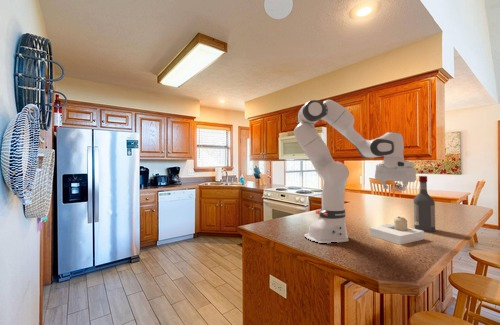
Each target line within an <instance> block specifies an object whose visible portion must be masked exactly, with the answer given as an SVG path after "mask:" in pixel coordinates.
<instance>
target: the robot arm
mask: <svg viewBox="0 0 500 325" xmlns="http://www.w3.org/2000/svg"><path fill="white" fill-rule="evenodd" d="M319 120H321V121H324V122H326V123H327V124H328V125H329V126H331V127H332V128H333V129H335V130H336V131H337V132H339V133H340V134H341V135H342V136H343V138H345V139H346V140H347V141H348V142H350V144H352V145H353V146H354V147H355V149H356V150H357V152H358V154H359V155H360V157H362V158H364V159H372V158H381V157H383V163H381V162H379V163H378V164H376V165H375V173H374V179H375V180H376V181H380V182H381V184H382V187H383V189H384V190H388V189H389V186H388V185H387V182H388V181H389V182H390V181H391V182H402V184H403V185H402V186H400V191H403V192H405V191H406V190H407V188H406V187H407V186H408V184H409V183H415V182H416V181H417V172H416V169H415V163H414V162H413V161H411V160H410V161H409V160H405V157H404V151H405V150H404V149H405V147H404V146H405V144H404V143H405V142H404V137H403V135H402V134H401V133H400V132H395V131H388V132H385V133H384V134H382V135H381V136H379V137H376V138H374V139H373V138H372V139H366V138H364V137H363V136H362V135H361V134H360V133H359V132H358V131H357V130H355V127H354V125H355V117H354V115H353V114H352V113H351V112H350V111H349V110H348V109H347V108H346V107H344V106H343V105H341V104H340V103H338V102H336V101H334V100H332V99H326V100H324V101H320V100H317V99H316V100H315V99H313V100H308V101H307V102H306V103H305V104H304V105H303V106H301V108H300V109H299V111H298V112H297V115H296V121H297V125H296V126H295V128H294V129H293V135H294V137H295V139H296V141H297V143H298V144H299V146H300V147H301V149H302V150H303V152H304V153H305V155H306V157H308V159H309V160H310V162H311V164H312V166H313V168H314V170H315V171H316V173H317V175H318V176H319V178H320V179H321V180H322V181H323V187H322V191H321V209H320V210H318V209H316V210H315V214H317V215H319V216H318V217H317V218H316V219H315V220H314V221H313V222H311V224H309V227H308V233H304V235H303V237H304V236H305V237H306V238H307V239H306V238H305V237H304V238H305V239H306V240H308V239H309V240H308V241H310V240H311V241H310V242H312V241H315V242H318V243H317V244H319V243H327V244H332V243H331V242H337V243H346V242H349V235H348V231H347V223H346V220H345V218H346V209H345V192H346V191H345V190H346V186H347V180H348V178H349V175H350V171H349V169H348V166H347V165H346V164H344V163H343V162H341V161H335V160H334V158H333V157H332V155H331V153H330V148H329V147H328V146H327V144H326V143H325V141H324V140H323V139H322V137H321V136H320V135H319V133H318V132H317V131H316V127H315V124H316V123H317V122H319ZM315 242H314V243H315Z"/></svg>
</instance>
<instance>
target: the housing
mask: <svg viewBox="0 0 500 325" xmlns="http://www.w3.org/2000/svg"><path fill="white" fill-rule="evenodd" d="M407 230H408V231H403V232H402V231H398V230H395V225H394V223H389V224H384V225H378V226H377V225H376V226H371V227H369V236H371V237H374V238H377V239H380V240H382V241H387V242H389V243H393V244H397V245H398V246H399V245H400V246H401V245H405V244H410V243H413V242H419V241H422V240H425V231H422V230H417V229H415V228H412V227H409V226H407Z"/></svg>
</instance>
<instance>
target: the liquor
mask: <svg viewBox="0 0 500 325" xmlns="http://www.w3.org/2000/svg"><path fill="white" fill-rule="evenodd" d="M418 182H419V193H418V194H416V196H415V197H414V198H413V226H414V229H417V230H422V231H424V232H426V233H427V232H428V233H433V232H435V231H436V210H435V209H436V204H435V203H436V202H435V200H434V199H433V197H431V196H430V194H429V193H428V186H427V183H428V176H427V175H419V176H418Z"/></svg>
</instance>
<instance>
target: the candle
mask: <svg viewBox="0 0 500 325" xmlns="http://www.w3.org/2000/svg"><path fill="white" fill-rule="evenodd" d="M393 220H394V223H393V224H394V225H395V230H398V231H402V232H403V231H408V230H407V227H408V219H406V218H405V217H404V216H397V217H396V218H394V219H393Z"/></svg>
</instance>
